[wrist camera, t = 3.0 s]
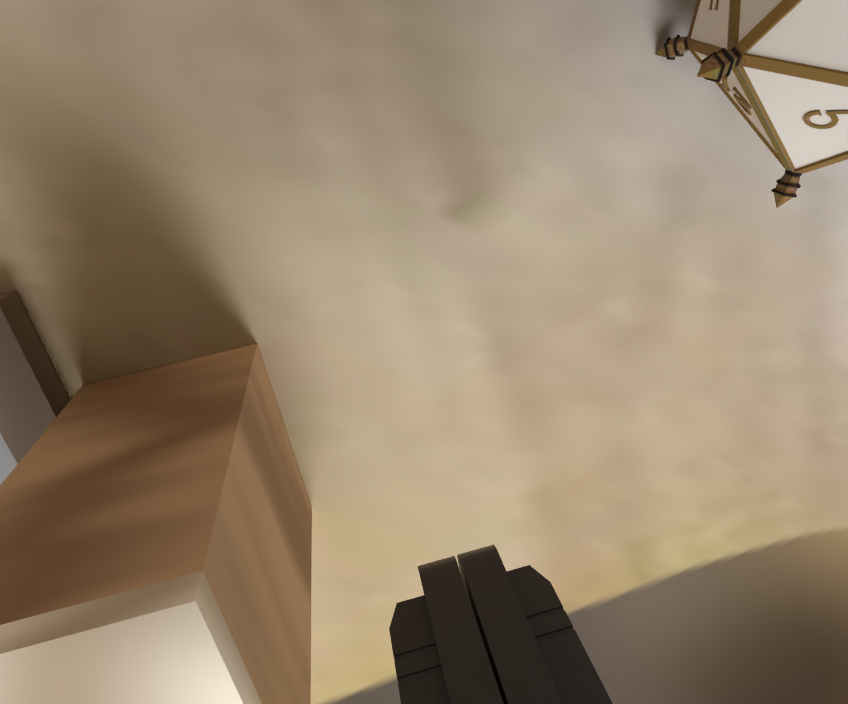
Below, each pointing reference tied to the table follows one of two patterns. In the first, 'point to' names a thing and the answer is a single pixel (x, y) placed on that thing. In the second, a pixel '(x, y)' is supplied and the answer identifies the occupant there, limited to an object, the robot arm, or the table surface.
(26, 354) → the stop strip
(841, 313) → the table surface
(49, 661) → the walnut block
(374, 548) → the table surface
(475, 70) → the table surface
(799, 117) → the game die
